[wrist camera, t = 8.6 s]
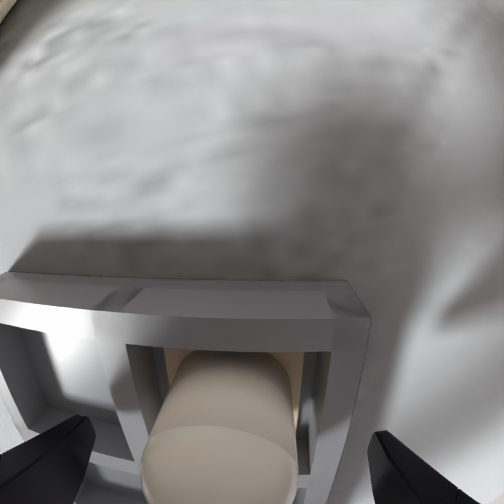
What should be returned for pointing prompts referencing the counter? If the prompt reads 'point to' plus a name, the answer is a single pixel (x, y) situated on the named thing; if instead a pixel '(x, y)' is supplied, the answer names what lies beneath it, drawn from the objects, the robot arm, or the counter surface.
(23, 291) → the grey compartment tray
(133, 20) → the counter surface
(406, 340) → the counter surface
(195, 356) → the egg
